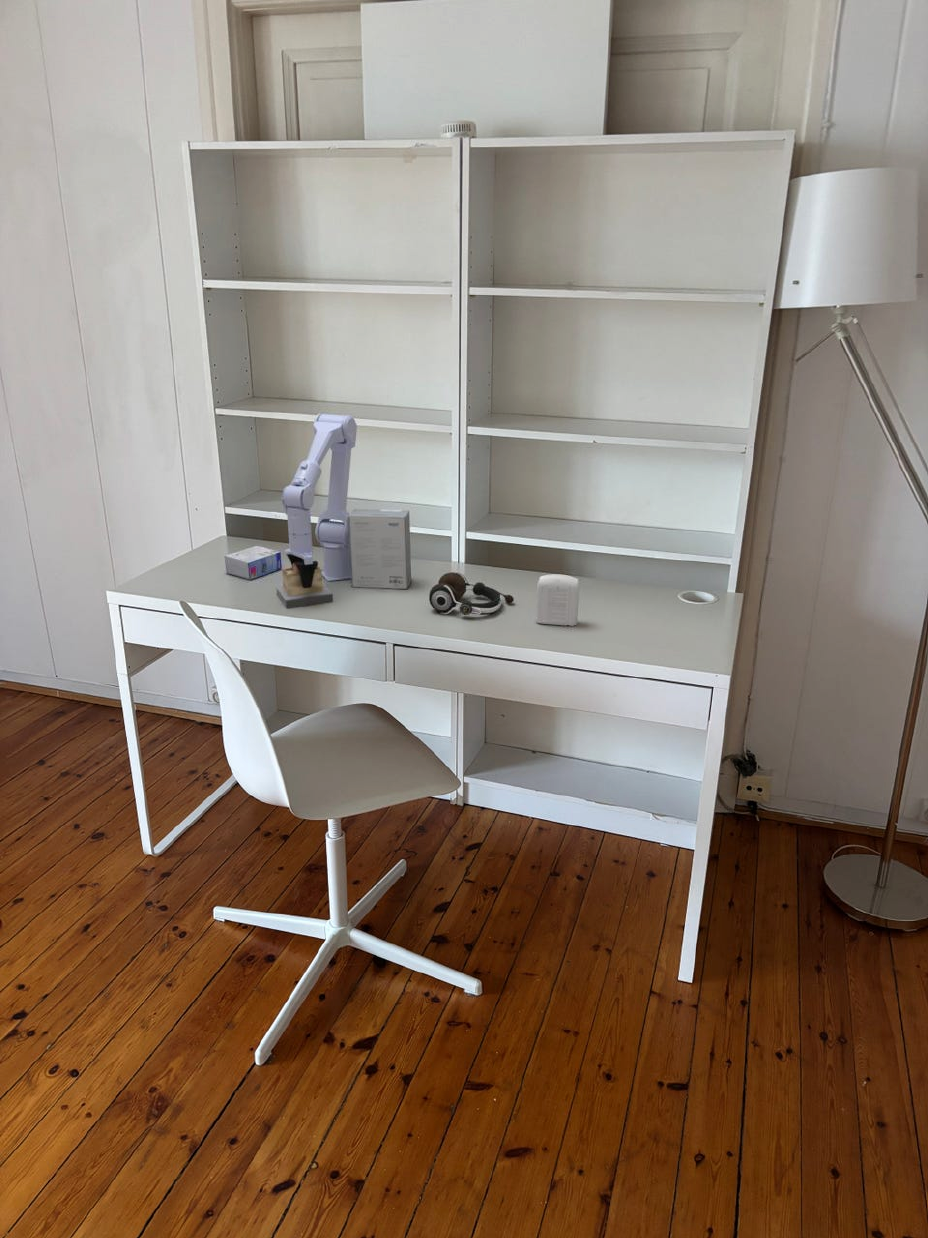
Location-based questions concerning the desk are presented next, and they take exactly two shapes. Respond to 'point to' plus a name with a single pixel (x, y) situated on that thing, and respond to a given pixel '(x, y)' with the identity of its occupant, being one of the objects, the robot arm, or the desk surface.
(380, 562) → the hard drive box
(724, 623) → the desk surface
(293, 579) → the tan mottled box
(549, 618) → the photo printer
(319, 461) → the robot arm
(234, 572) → the ink cartridge box
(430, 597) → the headset
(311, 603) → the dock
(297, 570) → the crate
